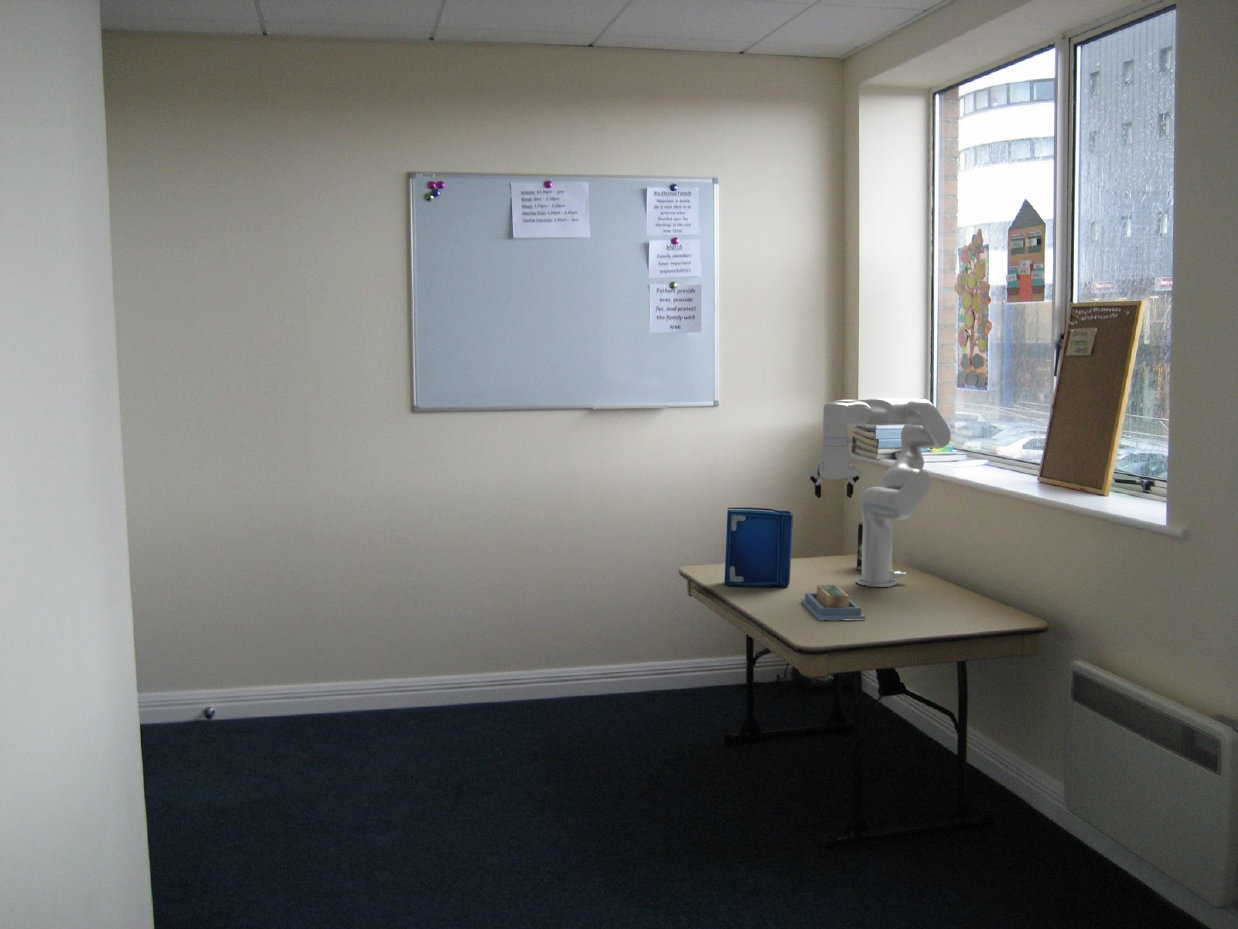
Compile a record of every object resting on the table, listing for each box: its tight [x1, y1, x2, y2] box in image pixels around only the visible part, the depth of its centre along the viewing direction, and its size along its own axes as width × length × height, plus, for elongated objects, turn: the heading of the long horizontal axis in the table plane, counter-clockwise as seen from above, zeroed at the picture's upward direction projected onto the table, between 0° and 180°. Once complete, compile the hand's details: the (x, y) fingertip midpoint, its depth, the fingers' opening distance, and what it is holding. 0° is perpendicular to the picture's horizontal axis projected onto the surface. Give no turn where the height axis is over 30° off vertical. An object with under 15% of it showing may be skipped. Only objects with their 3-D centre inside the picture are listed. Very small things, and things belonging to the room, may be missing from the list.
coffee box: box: [856, 521, 863, 571], centre depth 378 cm, size 9×6×16 cm
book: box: [723, 506, 794, 588], centre depth 353 cm, size 22×7×25 cm, turn 84°
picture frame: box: [816, 584, 850, 608], centre depth 320 cm, size 6×14×5 cm, turn 3°
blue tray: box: [800, 592, 866, 622], centre depth 320 cm, size 13×22×3 cm, turn 4°
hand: (833, 497), depth 340 cm, fingers open, 9 cm apart
